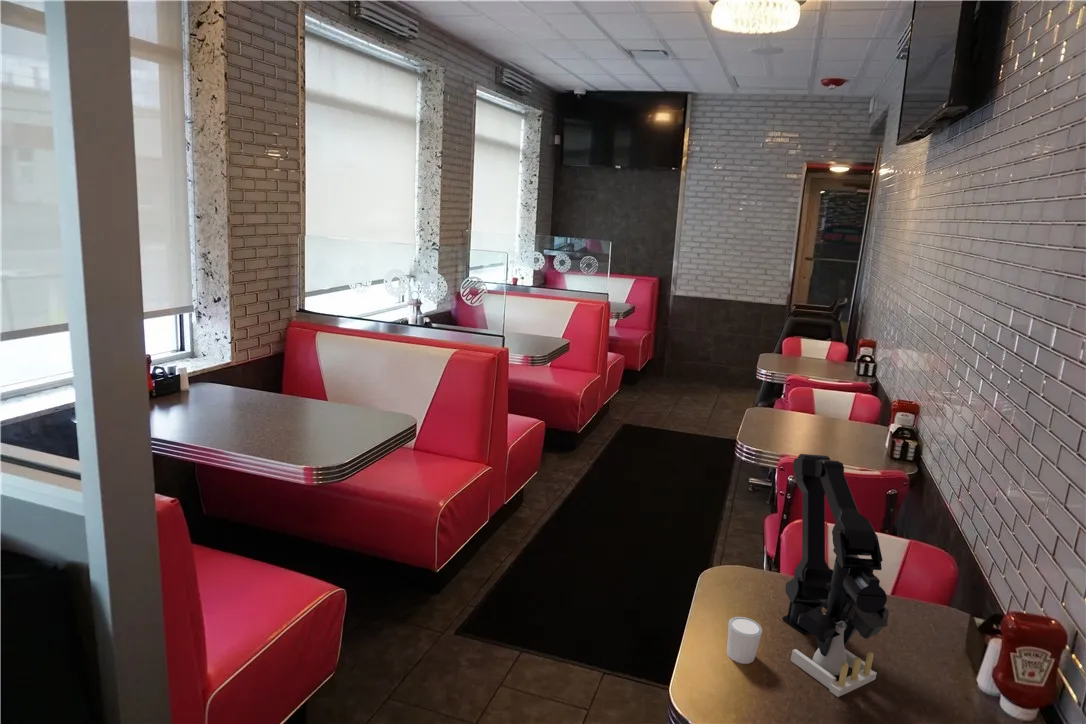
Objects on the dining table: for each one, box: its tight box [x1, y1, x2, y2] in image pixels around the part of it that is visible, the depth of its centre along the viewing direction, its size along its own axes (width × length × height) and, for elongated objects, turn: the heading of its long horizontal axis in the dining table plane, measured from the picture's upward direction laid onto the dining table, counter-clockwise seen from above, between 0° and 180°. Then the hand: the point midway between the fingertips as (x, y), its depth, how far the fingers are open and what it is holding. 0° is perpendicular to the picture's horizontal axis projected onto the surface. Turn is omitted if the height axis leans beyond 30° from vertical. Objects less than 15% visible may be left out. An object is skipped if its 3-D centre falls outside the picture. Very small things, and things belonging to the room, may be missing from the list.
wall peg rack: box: [790, 648, 878, 698], centre depth 149 cm, size 12×12×6 cm
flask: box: [811, 622, 848, 676], centre depth 149 cm, size 7×7×10 cm
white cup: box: [726, 616, 763, 665], centre depth 152 cm, size 7×7×7 cm
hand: (832, 651), depth 150 cm, fingers closed on flask, 5 cm apart
